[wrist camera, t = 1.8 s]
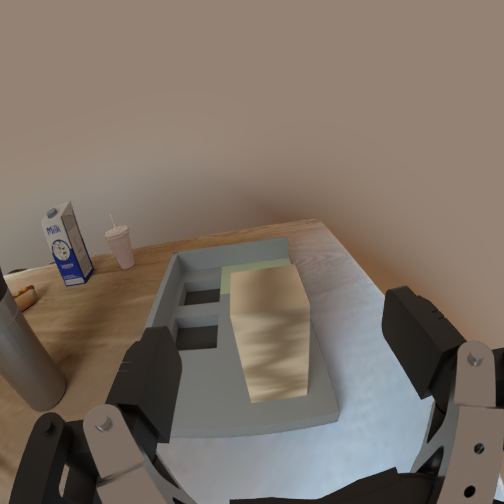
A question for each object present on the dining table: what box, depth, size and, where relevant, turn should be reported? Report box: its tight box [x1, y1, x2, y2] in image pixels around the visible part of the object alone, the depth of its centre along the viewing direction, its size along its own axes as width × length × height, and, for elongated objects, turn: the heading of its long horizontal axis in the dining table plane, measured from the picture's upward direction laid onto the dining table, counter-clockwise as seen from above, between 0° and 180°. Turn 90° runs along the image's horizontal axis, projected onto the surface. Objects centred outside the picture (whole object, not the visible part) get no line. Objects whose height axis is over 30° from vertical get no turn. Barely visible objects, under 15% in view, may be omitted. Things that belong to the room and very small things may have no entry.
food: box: [12, 285, 37, 312], centre depth 47 cm, size 14×6×5 cm, turn 142°
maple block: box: [230, 264, 310, 403], centre depth 25 cm, size 6×6×13 cm
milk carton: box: [41, 201, 94, 286], centre depth 56 cm, size 7×7×20 cm
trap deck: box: [142, 237, 340, 438], centre depth 38 cm, size 22×34×6 cm, turn 3°
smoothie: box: [105, 213, 134, 269], centre depth 60 cm, size 6×6×14 cm
